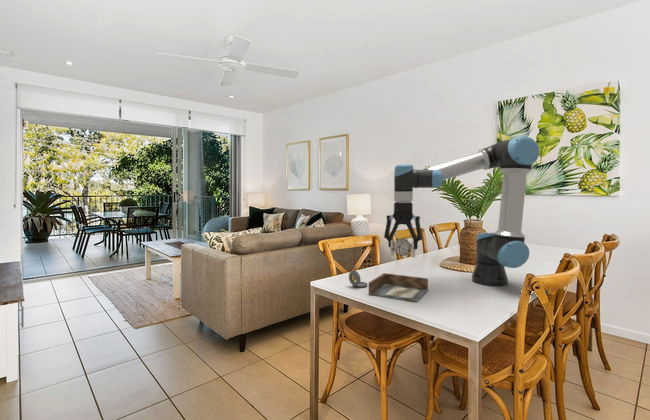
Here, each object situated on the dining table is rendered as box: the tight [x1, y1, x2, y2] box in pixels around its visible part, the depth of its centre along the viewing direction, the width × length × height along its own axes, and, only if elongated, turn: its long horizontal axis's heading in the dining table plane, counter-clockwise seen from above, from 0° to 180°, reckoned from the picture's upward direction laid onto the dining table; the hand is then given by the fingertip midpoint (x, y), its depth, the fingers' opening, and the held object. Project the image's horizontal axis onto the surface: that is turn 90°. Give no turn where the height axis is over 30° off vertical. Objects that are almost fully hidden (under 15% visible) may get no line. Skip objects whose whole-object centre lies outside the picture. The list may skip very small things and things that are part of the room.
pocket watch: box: [348, 265, 368, 288], centre depth 152 cm, size 8×8×10 cm
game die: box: [390, 237, 412, 258], centre depth 141 cm, size 9×8×10 cm
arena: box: [368, 272, 429, 303], centre depth 142 cm, size 20×18×5 cm
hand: (402, 256), depth 141 cm, fingers closed on game die, 8 cm apart
